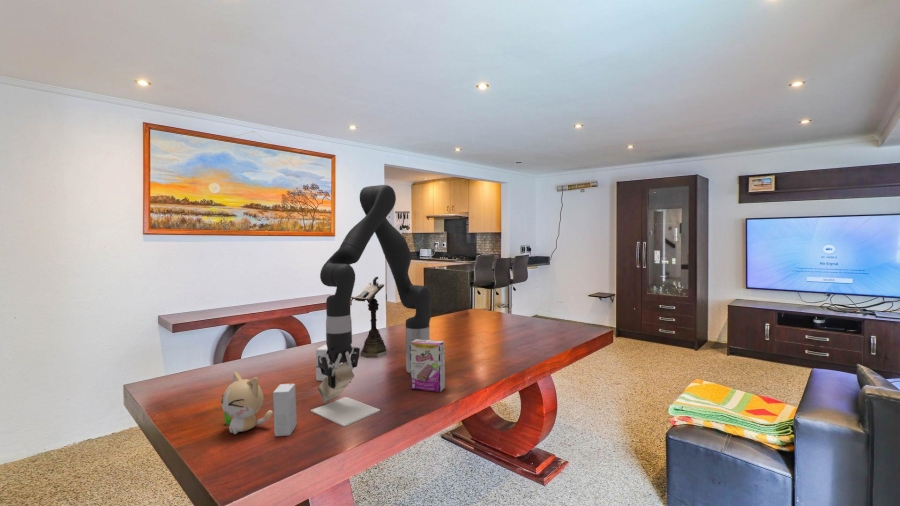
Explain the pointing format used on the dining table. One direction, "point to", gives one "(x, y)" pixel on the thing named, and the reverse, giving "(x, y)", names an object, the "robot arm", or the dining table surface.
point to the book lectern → (372, 321)
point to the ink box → (319, 352)
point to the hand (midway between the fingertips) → (340, 384)
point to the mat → (345, 411)
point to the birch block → (336, 382)
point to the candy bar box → (427, 365)
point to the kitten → (243, 404)
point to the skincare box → (284, 409)
